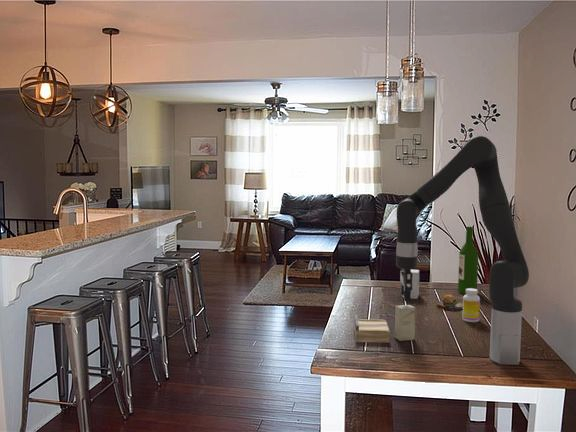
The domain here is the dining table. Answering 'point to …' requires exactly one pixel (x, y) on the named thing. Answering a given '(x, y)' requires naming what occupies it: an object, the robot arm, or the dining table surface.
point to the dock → (371, 330)
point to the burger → (450, 303)
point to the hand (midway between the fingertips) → (405, 297)
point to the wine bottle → (468, 264)
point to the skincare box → (404, 322)
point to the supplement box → (414, 284)
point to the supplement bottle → (471, 306)
